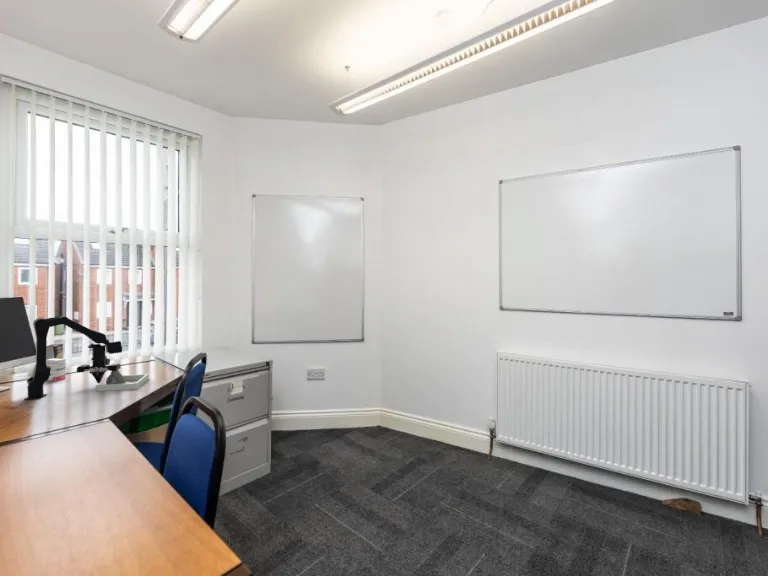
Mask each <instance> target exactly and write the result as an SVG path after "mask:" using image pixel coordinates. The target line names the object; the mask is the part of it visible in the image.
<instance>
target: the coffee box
mask: <svg viewBox="0 0 768 576" xmlns="http://www.w3.org/2000/svg"><path fill="white" fill-rule="evenodd" d="M63 345H64V344H63V343H54V344H49V345H46V360H48V359H64V346H63Z"/></svg>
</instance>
